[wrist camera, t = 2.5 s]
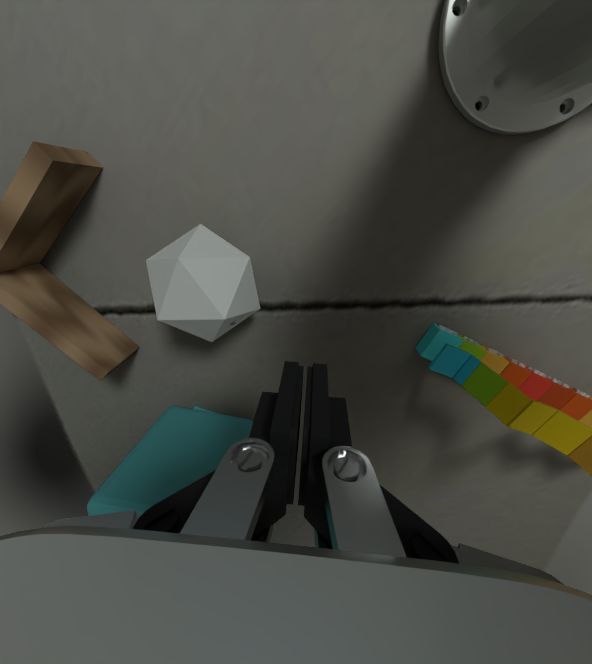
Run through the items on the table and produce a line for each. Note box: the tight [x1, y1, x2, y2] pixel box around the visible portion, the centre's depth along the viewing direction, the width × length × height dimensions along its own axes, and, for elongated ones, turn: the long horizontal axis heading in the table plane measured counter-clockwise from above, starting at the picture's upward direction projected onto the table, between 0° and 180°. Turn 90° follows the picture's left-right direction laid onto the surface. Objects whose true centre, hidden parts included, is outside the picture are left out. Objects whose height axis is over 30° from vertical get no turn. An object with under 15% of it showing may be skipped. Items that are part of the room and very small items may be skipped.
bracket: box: [0, 142, 139, 381], centre depth 26 cm, size 11×19×5 cm, turn 178°
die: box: [146, 224, 260, 342], centre depth 24 cm, size 8×9×10 cm
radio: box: [87, 406, 253, 516], centre depth 33 cm, size 34×10×15 cm, turn 172°
